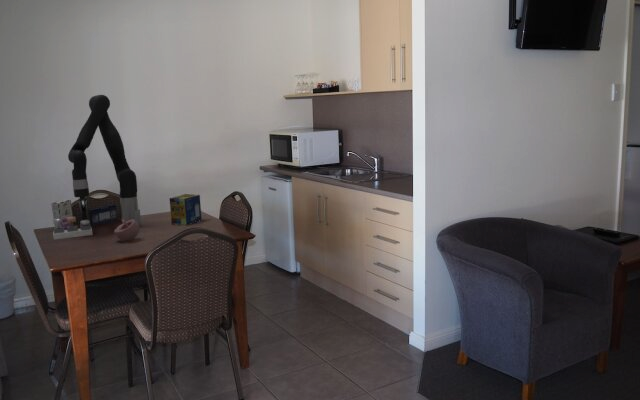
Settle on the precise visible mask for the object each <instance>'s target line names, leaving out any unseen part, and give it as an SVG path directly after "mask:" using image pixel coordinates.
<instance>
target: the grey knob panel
mask: <svg viewBox="0 0 640 400" xmlns="http://www.w3.org/2000/svg"><path fill="white" fill-rule="evenodd" d="M52 236H53V238H52V239H53V241H55V240H63V239H70V238H79V237H85V236H93V229H92V226H90V225H87V226H81V224H80V225H79V228H78V225H74V226H69V227H67V230H64V227H60V228H55V227H54V228H53V232H52Z"/></svg>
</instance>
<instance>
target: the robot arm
mask: <svg viewBox="0 0 640 400" xmlns="http://www.w3.org/2000/svg"><path fill="white" fill-rule="evenodd" d="M110 106H111V100H110V99H109V97H108V96H106V95H105V94H97V95H94V96H91V97H90V98H89V100H88V107H89V109H90V113H89V116H88V118H87V119H86V121H85V123H84V124H83V126H82V127H81V129H80V131H79V133H78V136H77V138H76V140H75V142H74V143H73V145H72V147H71V149H70V150H69V152H68V156H67V158H68V159H67V160H68V161H69V162H70V163H71V164H73V169H72V170H71V175H72V176H71V178H72V189H73V196H74V198H79V199H78V204H79V210H80V212H81V217H82V220H88V217H87V212H88V210H87V208H88V206H87V203H88V201H87V198H86V197H89V196H90V189H89V188H90V187H89V182H88V176H87V163H88V159H87V154H86V153H85V152H86V149H89V148H90V145H91V144H92V141H93V139H94V137H95V134H96V131H98V130H97V129H99V132H100V134H101V135H100V136H101V137H102V140H103V143H104V147H105V149H106V151H107V153H108V155H109V158H110V159H111V161H112V164H113V168H114V172H115V175H116V179H117V181H118V182H119V201H120V209H121V210H120V212H121V220H122V219H123V220H124V221H125V222H126V221H128V220H131V219H134V220H135V221H136V222H137V223H138V225H139V227H141V226H142V219H141V218H142V217H141V216H142V215H141V210H140V208H139V203H138V182H137V181H138V180H137V176H136V175H137V174H136V173H135V171H133V170H132V169H131V167H130V166H129V163H128V161H127V158H126V154H125V153H126V152H125V146H124V143H123V140H122V136H121V134H120V132H119V131H118V129H117V128H116V126H115V125H114V123H113V121H112V120H111V118H110V116H109V113H108V111H109V108H110ZM121 222H122V221H121ZM122 224H123V222H122Z"/></svg>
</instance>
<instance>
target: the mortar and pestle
mask: <svg viewBox="0 0 640 400" xmlns="http://www.w3.org/2000/svg"><path fill="white" fill-rule="evenodd" d="M121 222H123V223H122V224H119V225H118V226H117V227H116V228H115V229H114V231H113V232H114V235H115V236H116V238H117V239H119V240H121V241H123V242H129V241H132V240H134V239H135V238H136V237H138V235H139V233H140V226H139V225H138V223H137V222H136V221H135V220H134V219H131V220H128V221H126V222H125V221H124V220H123V219H122V218H121Z"/></svg>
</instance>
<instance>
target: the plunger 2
mask: <svg viewBox="0 0 640 400" xmlns="http://www.w3.org/2000/svg"><path fill="white" fill-rule="evenodd" d="M80 225H81V226H87V225H90V222H89V219H86V220H83V219H82V220H80Z"/></svg>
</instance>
